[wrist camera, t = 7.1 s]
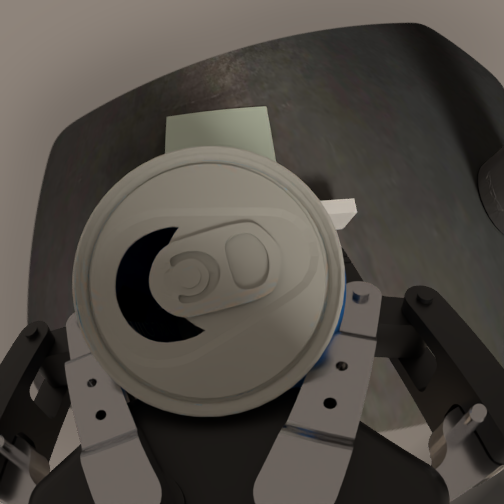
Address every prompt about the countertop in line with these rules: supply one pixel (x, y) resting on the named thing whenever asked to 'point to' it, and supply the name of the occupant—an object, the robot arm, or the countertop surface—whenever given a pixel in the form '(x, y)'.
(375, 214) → the countertop surface
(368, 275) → the countertop surface
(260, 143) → the mat
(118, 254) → the beverage can
